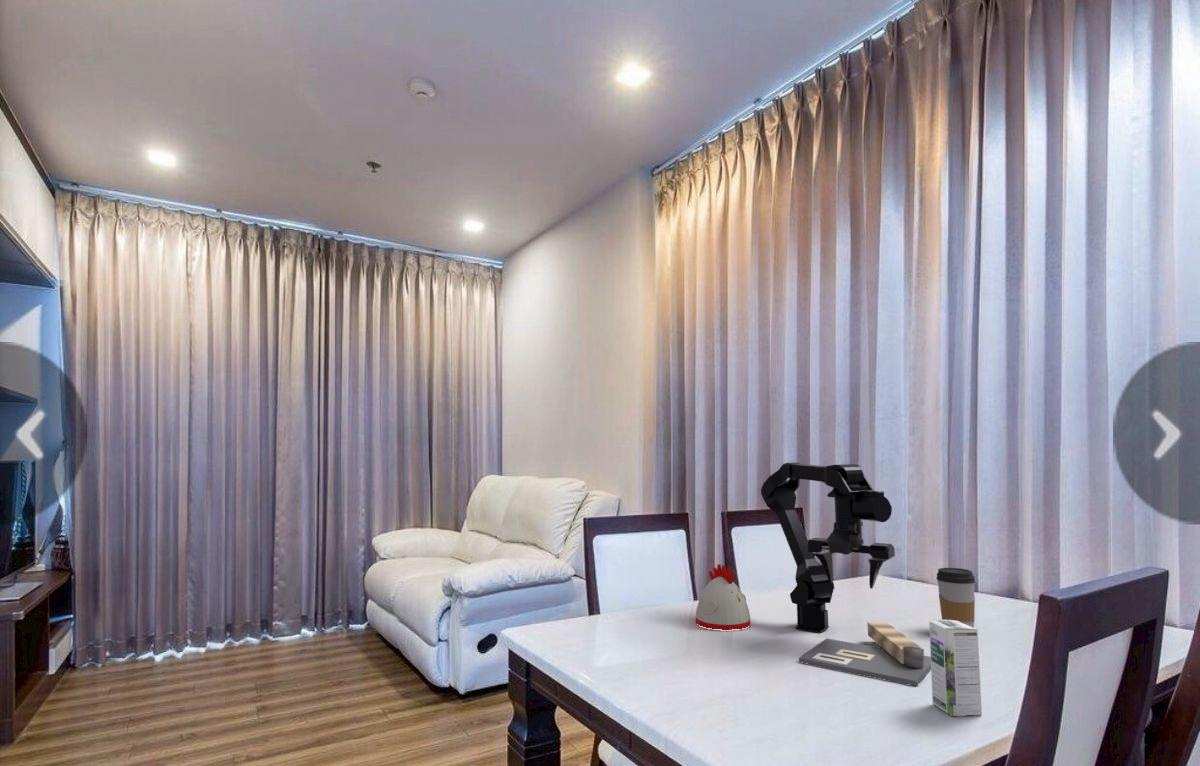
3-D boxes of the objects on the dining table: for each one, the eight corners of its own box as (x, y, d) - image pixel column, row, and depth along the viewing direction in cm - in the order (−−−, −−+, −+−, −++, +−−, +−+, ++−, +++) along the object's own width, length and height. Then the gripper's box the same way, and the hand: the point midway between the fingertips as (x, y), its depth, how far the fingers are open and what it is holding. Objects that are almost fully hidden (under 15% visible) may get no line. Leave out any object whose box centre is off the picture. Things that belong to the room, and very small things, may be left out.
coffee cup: (984, 640, 152) (980, 574, 153) (945, 638, 153) (941, 573, 155) (971, 630, 160) (967, 567, 161) (934, 628, 161) (931, 566, 163)
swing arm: (867, 635, 152) (867, 622, 152) (887, 635, 151) (886, 622, 152) (905, 667, 130) (904, 651, 130) (928, 667, 130) (927, 651, 130)
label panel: (799, 662, 137) (798, 656, 138) (826, 642, 151) (826, 637, 151) (917, 686, 123) (916, 679, 123) (936, 662, 137) (935, 656, 137)
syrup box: (931, 704, 115) (926, 619, 116) (962, 702, 116) (957, 618, 117) (951, 717, 109) (946, 628, 111) (984, 716, 110) (978, 627, 111)
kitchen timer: (726, 635, 158) (724, 572, 159) (684, 623, 169) (683, 564, 170) (761, 624, 167) (759, 564, 168) (720, 614, 177) (718, 558, 179)
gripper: (796, 518, 152) (798, 586, 151) (879, 524, 141) (883, 597, 139) (813, 514, 161) (816, 578, 160) (893, 519, 150) (897, 588, 148)
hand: (851, 585), depth 152 cm, fingers open, 9 cm apart
